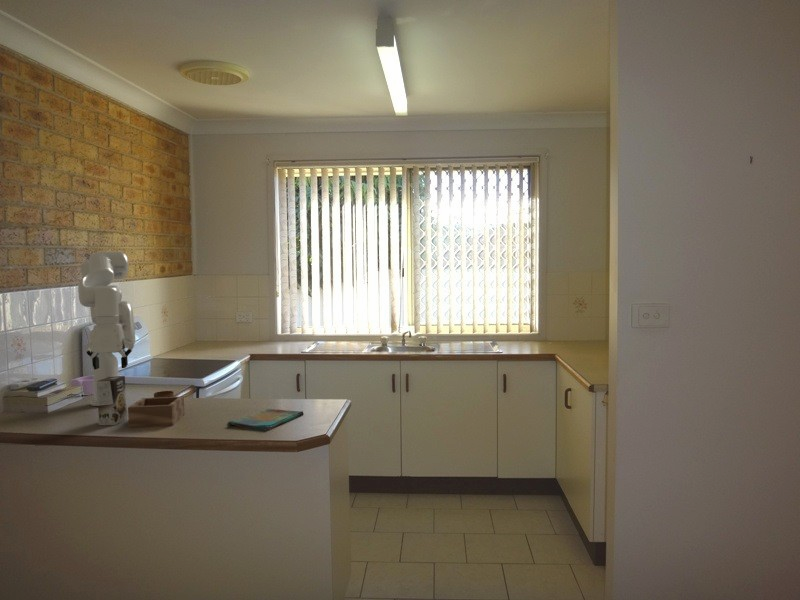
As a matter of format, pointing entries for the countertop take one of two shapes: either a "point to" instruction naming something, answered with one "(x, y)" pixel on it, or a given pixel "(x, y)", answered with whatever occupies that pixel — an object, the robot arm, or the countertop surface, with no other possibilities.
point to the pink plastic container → (84, 384)
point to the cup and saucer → (164, 394)
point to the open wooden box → (156, 411)
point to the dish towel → (265, 419)
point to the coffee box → (111, 400)
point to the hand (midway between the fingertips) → (110, 368)
